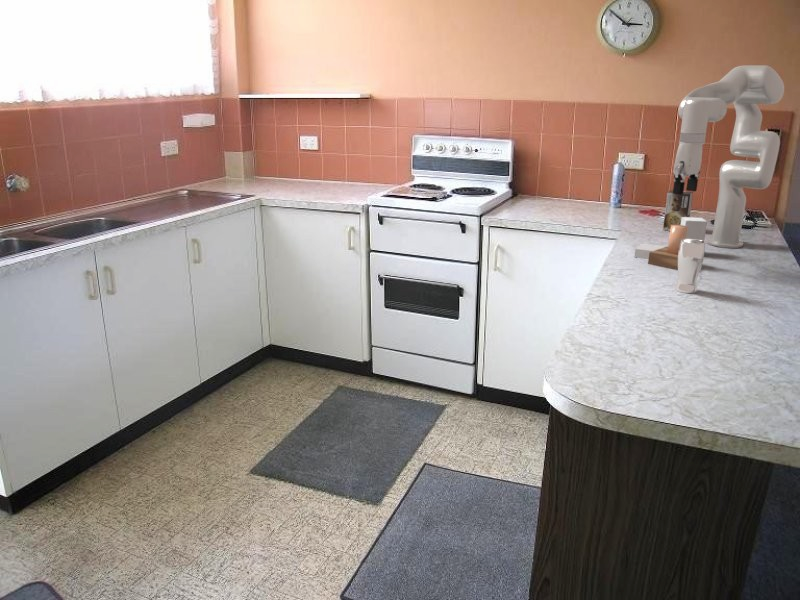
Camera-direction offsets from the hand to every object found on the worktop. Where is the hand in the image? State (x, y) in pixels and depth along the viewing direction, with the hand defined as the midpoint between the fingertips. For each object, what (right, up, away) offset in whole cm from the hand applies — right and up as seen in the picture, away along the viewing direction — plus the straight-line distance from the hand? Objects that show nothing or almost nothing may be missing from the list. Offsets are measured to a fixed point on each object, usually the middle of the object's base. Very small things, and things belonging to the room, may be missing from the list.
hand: (684, 192), depth 218 cm
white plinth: (-4, -20, +18) cm, 27 cm away
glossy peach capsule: (-1, -19, +6) cm, 20 cm away
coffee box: (+21, -7, +59) cm, 63 cm away
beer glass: (-8, -33, -21) cm, 39 cm away
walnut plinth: (-1, -23, +7) cm, 24 cm away
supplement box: (+11, -19, +22) cm, 31 cm away
